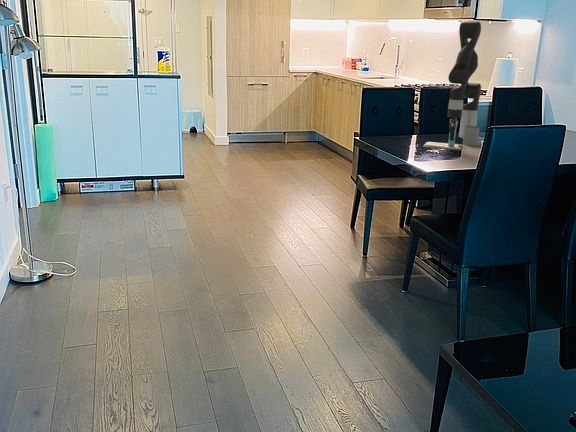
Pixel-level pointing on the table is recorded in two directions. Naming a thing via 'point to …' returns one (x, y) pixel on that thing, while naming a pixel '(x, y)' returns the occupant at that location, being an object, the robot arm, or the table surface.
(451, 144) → the marker
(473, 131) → the cup
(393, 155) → the table surface
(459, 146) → the clipboard
